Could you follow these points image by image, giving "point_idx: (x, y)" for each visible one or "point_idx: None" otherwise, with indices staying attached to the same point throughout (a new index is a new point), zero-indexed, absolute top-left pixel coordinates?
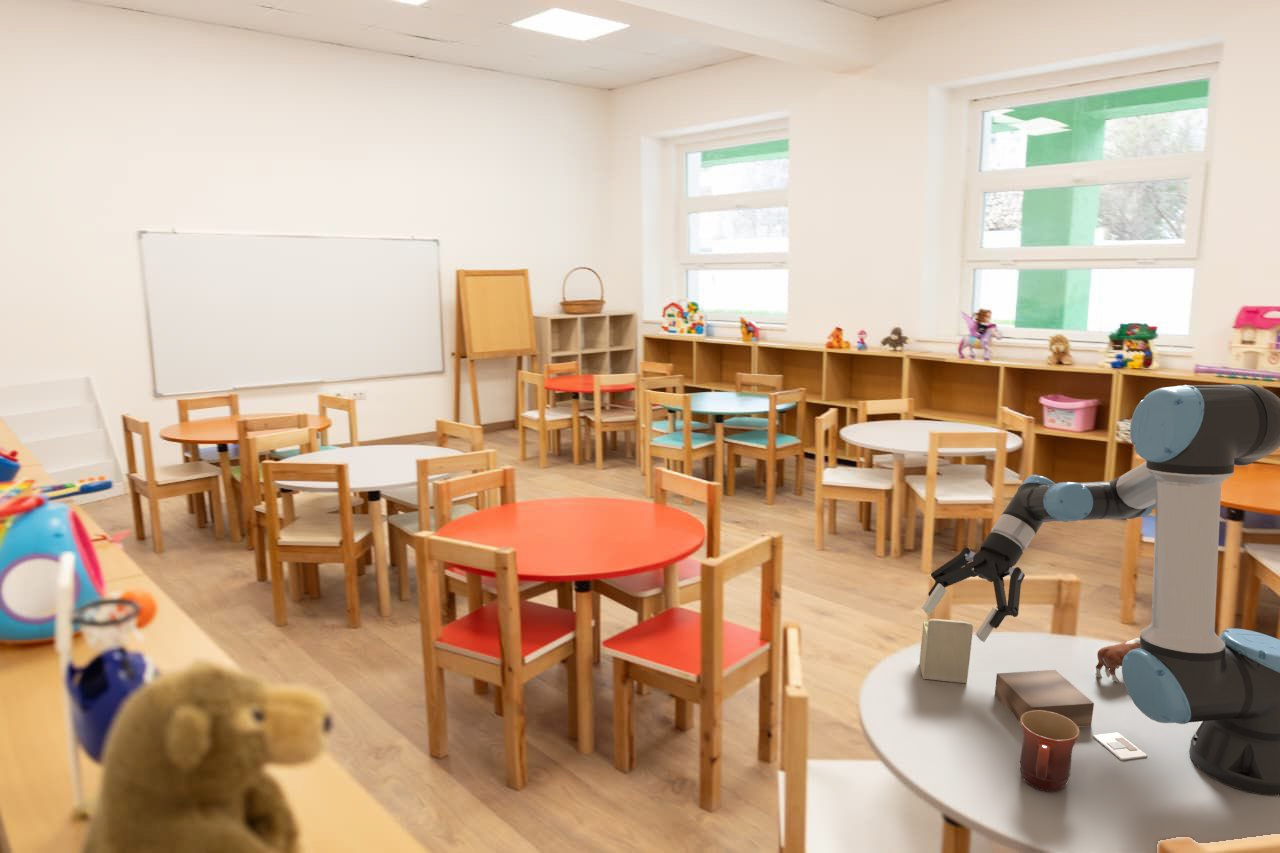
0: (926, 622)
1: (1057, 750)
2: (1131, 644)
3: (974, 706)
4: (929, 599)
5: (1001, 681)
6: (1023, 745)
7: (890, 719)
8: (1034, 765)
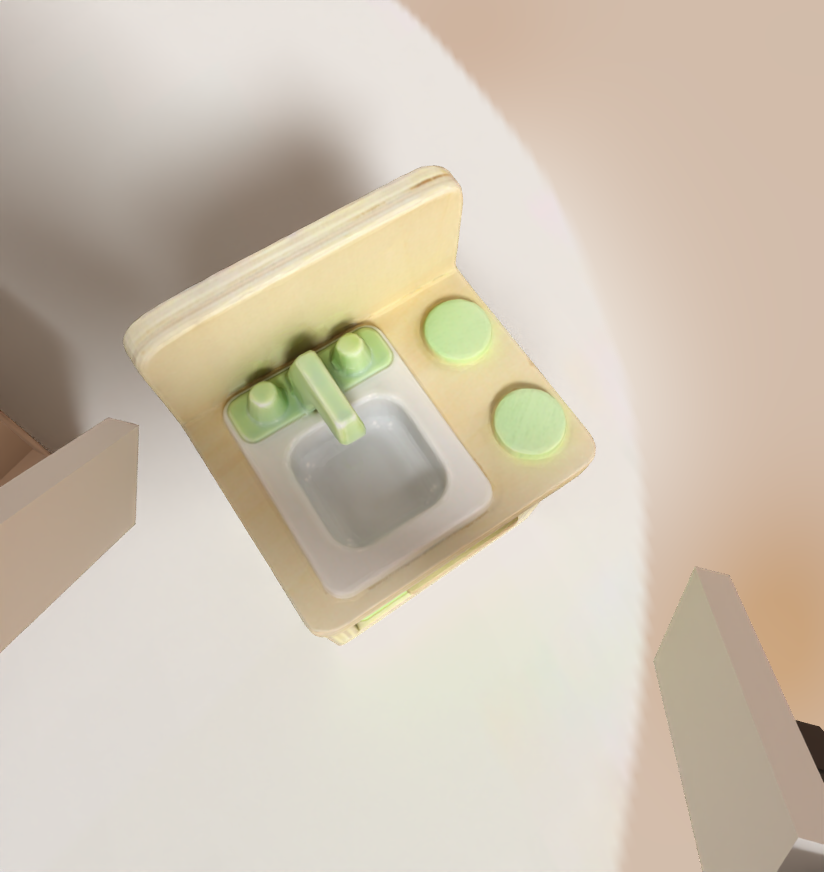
0: (558, 415)
1: None
2: None
3: None
4: (740, 643)
5: (5, 423)
6: None
7: (369, 62)
8: None
